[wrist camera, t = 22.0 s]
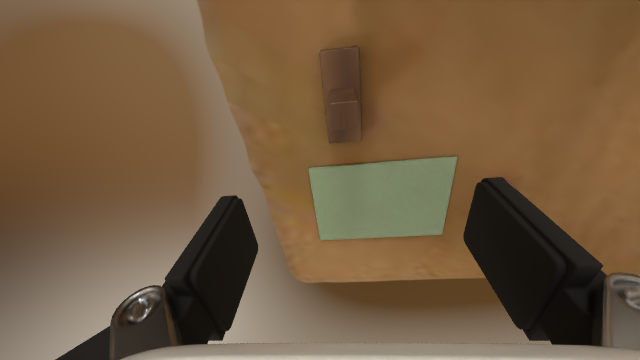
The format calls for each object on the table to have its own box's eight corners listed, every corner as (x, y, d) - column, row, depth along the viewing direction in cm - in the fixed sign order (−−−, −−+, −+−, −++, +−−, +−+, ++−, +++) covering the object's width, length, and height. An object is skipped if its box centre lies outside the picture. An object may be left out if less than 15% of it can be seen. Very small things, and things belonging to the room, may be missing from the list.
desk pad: (456, 155, 32) (457, 157, 32) (441, 233, 39) (442, 234, 39) (308, 167, 34) (308, 169, 34) (320, 238, 42) (320, 240, 41)
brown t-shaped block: (329, 135, 32) (327, 166, 25) (320, 50, 27) (314, 57, 19) (360, 133, 31) (367, 163, 24) (357, 45, 26) (365, 51, 19)
